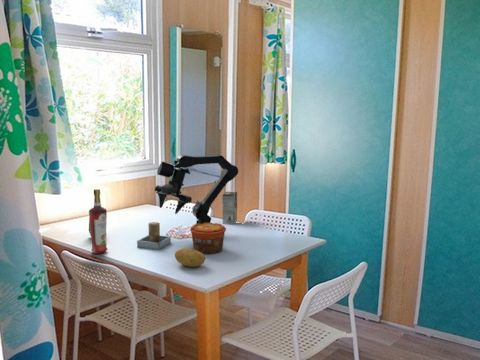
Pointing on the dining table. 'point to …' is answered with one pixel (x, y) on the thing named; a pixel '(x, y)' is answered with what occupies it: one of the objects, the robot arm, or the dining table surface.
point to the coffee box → (229, 207)
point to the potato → (189, 257)
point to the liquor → (98, 225)
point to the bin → (153, 245)
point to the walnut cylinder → (154, 232)
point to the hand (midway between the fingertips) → (168, 210)
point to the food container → (208, 237)
